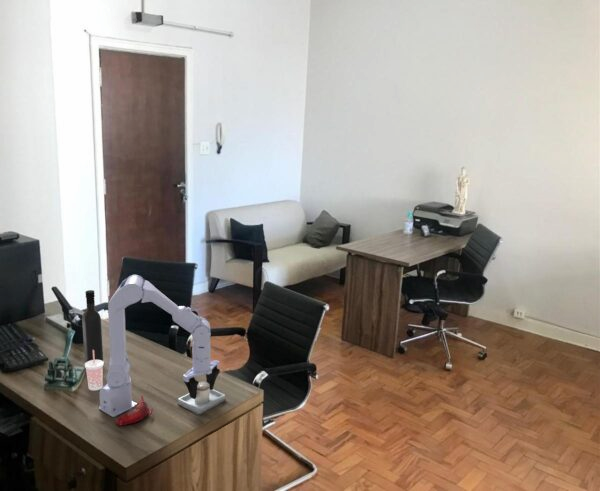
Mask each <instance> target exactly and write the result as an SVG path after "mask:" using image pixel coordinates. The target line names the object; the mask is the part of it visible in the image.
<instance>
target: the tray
mask: <svg viewBox="0 0 600 491" xmlns="http://www.w3.org/2000/svg"><path fill="white" fill-rule="evenodd" d="M224 401H226V394H224V393H222V392H220V391H217V389H214V388H213V390H210V400H209V402H208V403H205V404H197V403H195V401H194V399H193V398H191V397H190V394H189V392H188V393H187V394H184V395H183V396H181V397H179V398H177V404H178V405H179V406H180V407H183V408H185V409H186V410H188V411H191V412H192V413H194V414H196V415H198V416H200V415H202V414H203V413H205V412H206V411H209V410H210V409H212V408H214V407H215V406H218V405H219V404H221V403H223V402H224Z"/></svg>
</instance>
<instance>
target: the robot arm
mask: <svg viewBox="0 0 600 491" xmlns="http://www.w3.org/2000/svg"><path fill="white" fill-rule="evenodd" d="M140 301H141V303H149V302H151V303H153V304H155V305H156V306H157V307H159V308H160V309H162V310H164V311H165V312H167V313H168V314H170V315H171V317H172V321H173V322H174V323H175V324H177V325H178V326H180V327H181V328H183V329H184V330H185V331H187V332H188V333H190V334H191V336H192V339H193V342H192V367H191V368H190V369H189V370H188V371H187V372H186V373H184V374H183V375H182V382H183V383H184V384H185V386H186V388H187V391H188V393H189V394H190V397H191V398H193V399H196V396H197V386H198V383H199V382H200V381H198V380H197V379H196V377H199V376H203V375H205V379H206V382H208V383H209V384H210V390H213V389H214V386H215V384H216V380H217V378H218V376H219V374H220V373H221V371H220V369H219V367H220V361H219V360H217V359H214V360H211V334H212V333H211V324H210V321H208V320H207V318H204V317H202V316H199V315H197V314H196V313H194V312H193V311H192V308H191V307H189V306H185V305H179V306H178V304H176V303H175V302H173V301H172V300H171V299H170V298H169V297H167V296H166V295H165V294H164V293H162V292H161V291H160V290H159V289H158V288H156V287H155V285H154V284H152V283H151V282H150V281H148V280H146V279H145V278H143V277H142V276H141V275H138V274H132V275H129V276H128V277H126V278H125V279H124V280H122V282H121V283H120V284H119V286H118V288H117V289H116V290H115V292H114V293H113V294H112V296H111V298H110V300H109V301H108V304H107V309H108V328H109V329H108V332H109V335H108V336H109V356H110V357H109V365H108V372H107V374H106V377H105V378H106V379H105V380H106V384H105V385H103V387H102V388H101V389H99V407H98V409H99V410H101V411H102V412H103V413H105V414H107V415H108V416H111V417H112V418H114V417H118V416H119V415H122V414H124V413H126V412H128V411H129V410H130V409H131V408H132V407H134V406H135V405H136V404H138V402H135V401H133V398H132V397H133V396H132V395H133V394H132V378H131V376H130V375H129V372H130V370H131V361H130V359H129V357H128V352H127V342H126V341H127V339H126V336H127V335H126V333H127V332H126V310H125V309H126V308H127V307H129V306H132V305H133V304H136V303H138V302H140Z"/></svg>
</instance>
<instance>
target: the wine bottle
mask: <svg viewBox="0 0 600 491" xmlns="http://www.w3.org/2000/svg"><path fill="white" fill-rule="evenodd" d="M95 297H96V296H95V290H92V289H91V290H90V289H89V290H88V289H87V290H86V291H85V300H86V302H85V303H86V310H85V311H84V312H83V314H82V317H81V318H82V319H81V324H82V338H83V353H84V364H85V363H86V362H88V361H90V360H93V350H94V357H95V360H102V361H103V362H104V351H103V350H104V349H103V334H102V319H101V315H100V313H99V312H98V310H96V304H95ZM103 368H104V365H103Z"/></svg>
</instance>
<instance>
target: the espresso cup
mask: <svg viewBox="0 0 600 491" xmlns="http://www.w3.org/2000/svg"><path fill="white" fill-rule="evenodd" d="M198 382H199V383H198V386H197V396H196V399H194V401H195V403H197V404H205V403H208V402H209V400H210V384H209V383H208V382H207V381H198Z"/></svg>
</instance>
